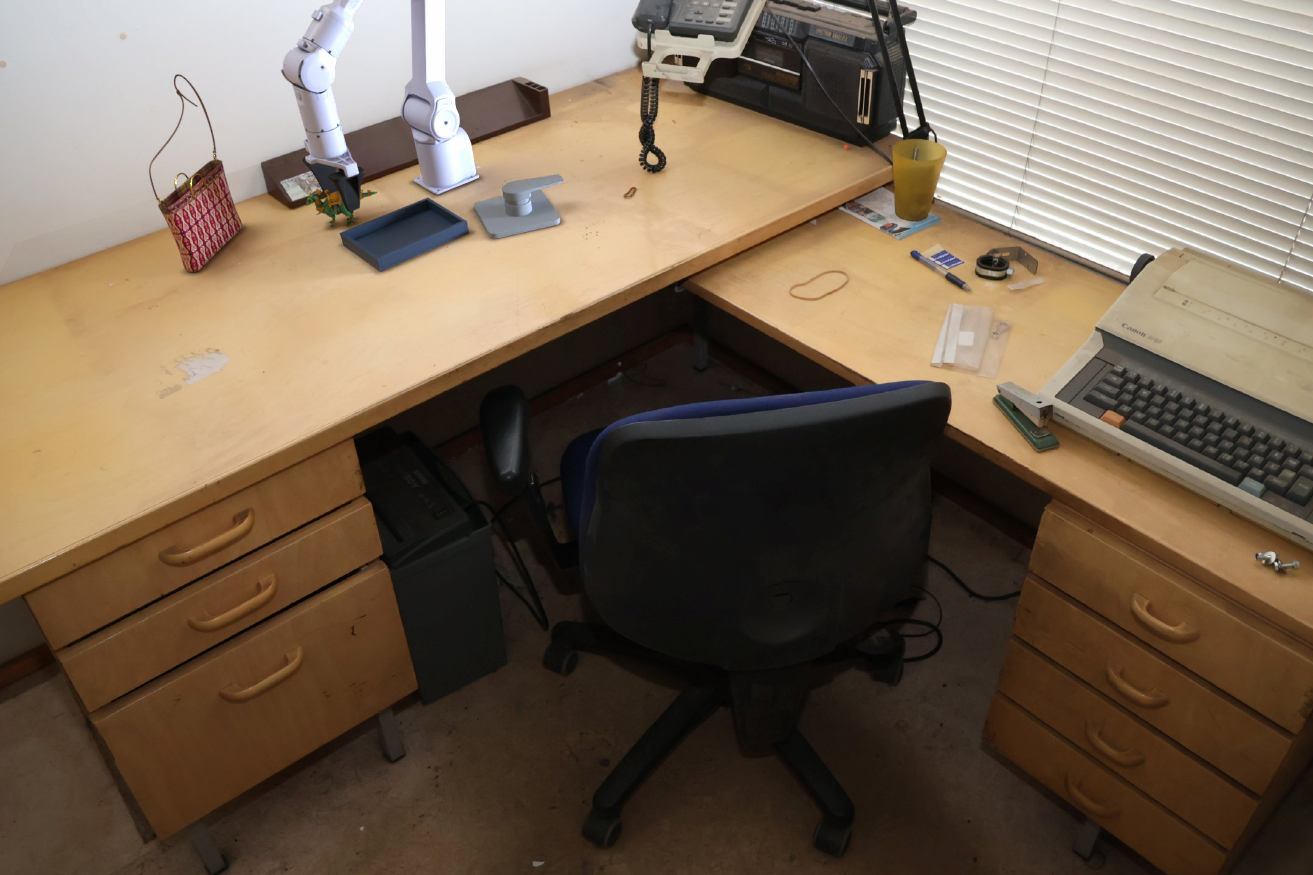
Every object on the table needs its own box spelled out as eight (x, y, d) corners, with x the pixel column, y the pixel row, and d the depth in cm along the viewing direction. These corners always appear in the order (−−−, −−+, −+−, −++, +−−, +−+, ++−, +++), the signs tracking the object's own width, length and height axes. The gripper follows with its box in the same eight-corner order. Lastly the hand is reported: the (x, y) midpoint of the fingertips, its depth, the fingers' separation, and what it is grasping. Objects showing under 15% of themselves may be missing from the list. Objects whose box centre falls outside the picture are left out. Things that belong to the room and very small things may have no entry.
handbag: (261, 214, 177) (214, 73, 161) (197, 276, 162) (139, 127, 146) (223, 211, 179) (174, 72, 162) (157, 273, 163) (95, 125, 147)
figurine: (313, 223, 174) (300, 179, 169) (383, 213, 176) (372, 169, 170) (312, 231, 172) (299, 188, 166) (383, 221, 174) (373, 177, 168)
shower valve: (573, 191, 167) (485, 210, 163) (576, 220, 171) (490, 240, 167) (551, 161, 176) (467, 179, 172) (554, 190, 180) (473, 208, 176)
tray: (430, 209, 176) (427, 197, 175) (469, 233, 169) (467, 220, 168) (342, 245, 168) (339, 232, 166) (379, 271, 161) (376, 259, 159)
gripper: (279, 120, 165) (301, 196, 173) (321, 146, 156) (342, 224, 165) (318, 107, 168) (338, 182, 177) (361, 132, 160) (380, 210, 168)
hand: (342, 202), depth 171 cm, fingers open, 7 cm apart
